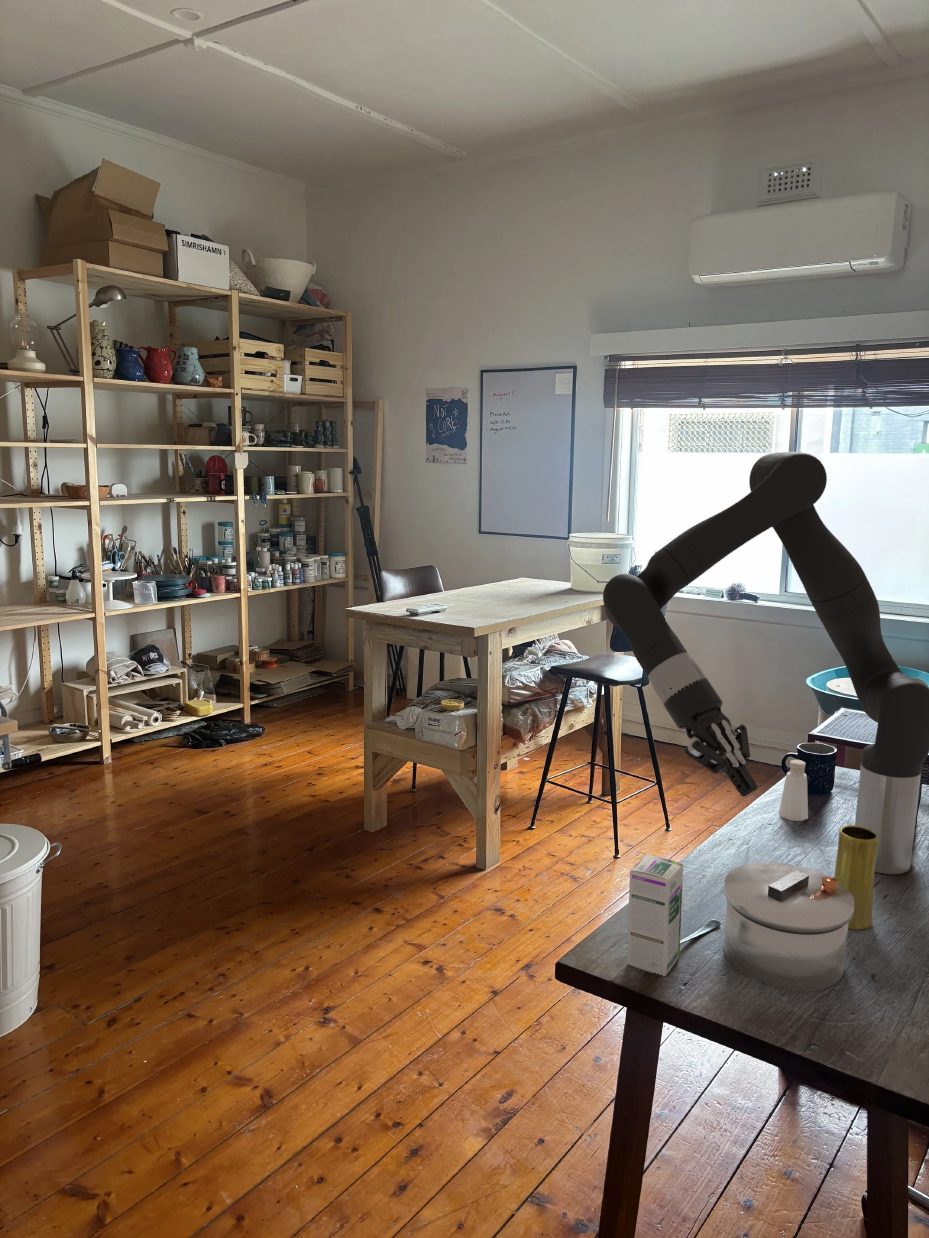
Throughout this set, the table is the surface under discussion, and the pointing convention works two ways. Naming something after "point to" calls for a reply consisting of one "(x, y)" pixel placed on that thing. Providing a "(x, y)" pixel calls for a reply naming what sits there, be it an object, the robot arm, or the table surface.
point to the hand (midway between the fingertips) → (750, 792)
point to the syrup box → (654, 914)
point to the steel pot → (784, 953)
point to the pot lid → (789, 897)
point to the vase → (857, 870)
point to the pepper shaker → (795, 793)
